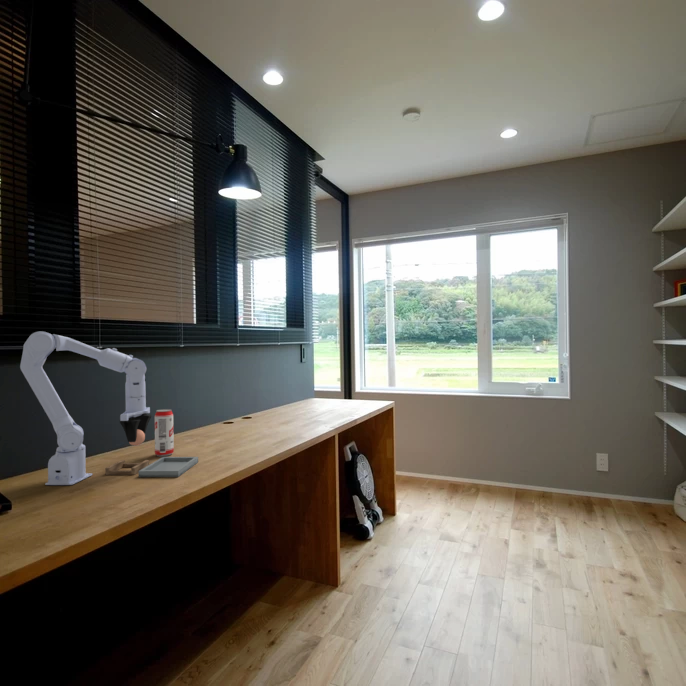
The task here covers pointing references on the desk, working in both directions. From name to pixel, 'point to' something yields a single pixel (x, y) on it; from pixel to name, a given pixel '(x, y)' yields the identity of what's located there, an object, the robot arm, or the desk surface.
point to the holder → (134, 470)
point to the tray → (168, 467)
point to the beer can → (164, 432)
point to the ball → (139, 438)
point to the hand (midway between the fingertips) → (136, 439)
